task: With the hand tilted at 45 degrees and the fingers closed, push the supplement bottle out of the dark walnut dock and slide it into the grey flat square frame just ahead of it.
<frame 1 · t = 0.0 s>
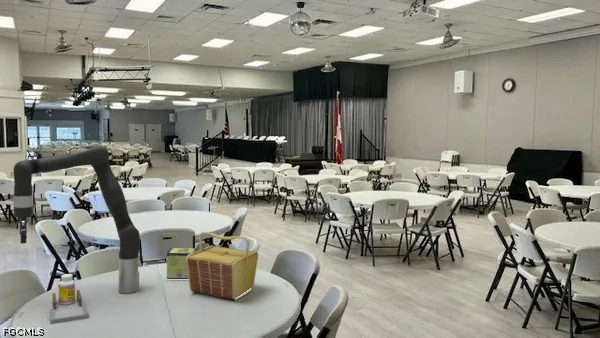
hand: (23, 241, 206), 29 cm above the table, tool pointing down, fingers open, 8 cm apart
protein box: (182, 278, 255), on the table
grey flat square frame: (69, 315, 199), on the table
walnut dock: (66, 303, 212), on the table
supplement bottle: (66, 303, 213), on the table
picnic basket: (222, 292, 234), on the table
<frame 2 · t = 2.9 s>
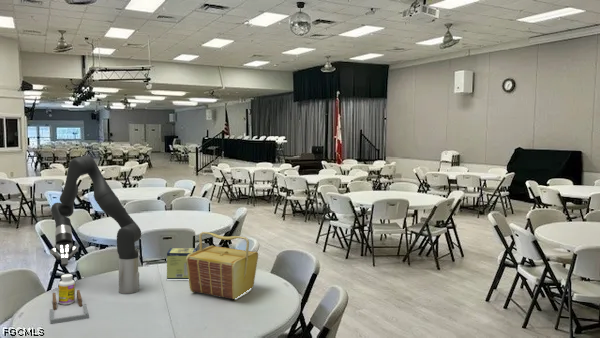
hand: (64, 265, 225), 13 cm above the table, tool tilted 45°, fingers closed
nothing on the table moved.
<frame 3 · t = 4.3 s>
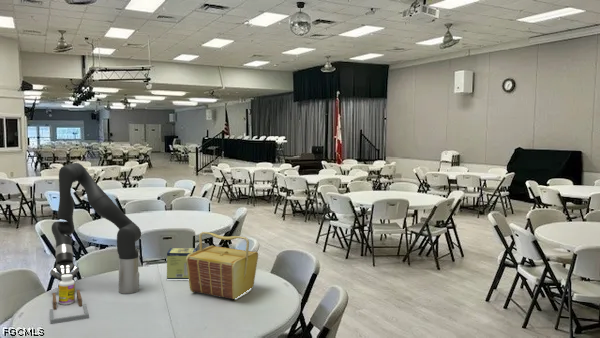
hand: (65, 286, 220), 5 cm above the table, tool tilted 45°, fingers closed
nothing on the table moved.
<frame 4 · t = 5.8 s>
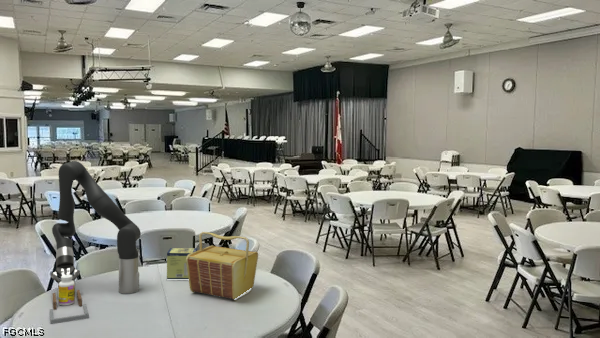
hand: (66, 290, 215), 5 cm above the table, tool tilted 45°, fingers closed
supplement bottle: (66, 303, 212), on the table, touching gripper
everything else where it was.
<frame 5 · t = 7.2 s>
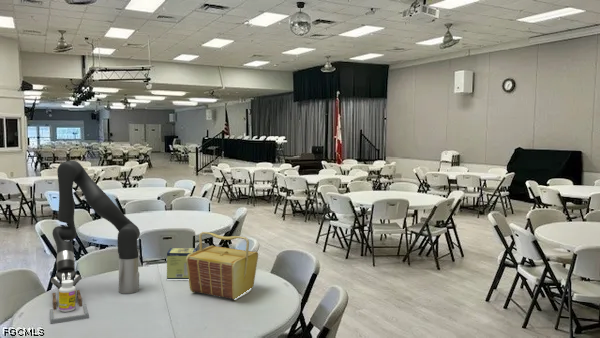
hand: (66, 296, 208), 5 cm above the table, tool tilted 45°, fingers closed
supplement bottle: (67, 309, 205), on the table, touching gripper
everything else where it was.
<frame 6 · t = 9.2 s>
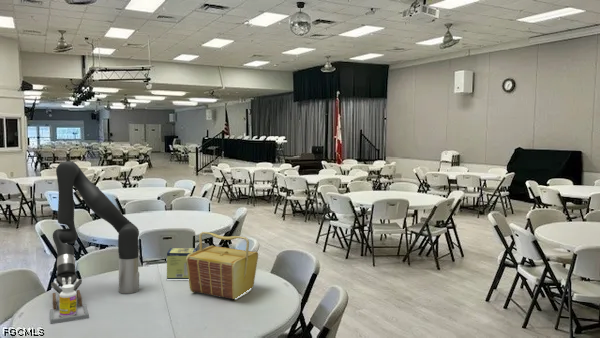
hand: (67, 301, 202), 5 cm above the table, tool tilted 45°, fingers closed
supplement bottle: (68, 315, 199), on the table, touching gripper
everything else where it was.
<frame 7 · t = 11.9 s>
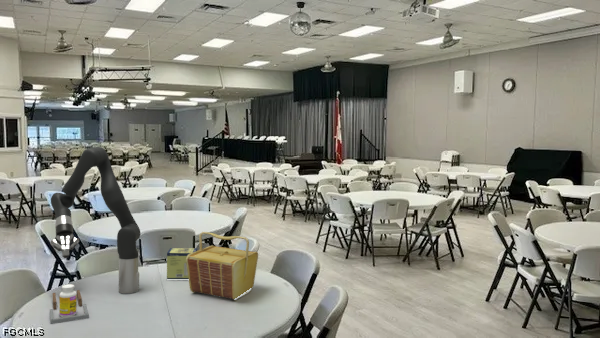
hand: (66, 257, 217), 20 cm above the table, tool tilted 45°, fingers closed
supplement bottle: (68, 315, 199), on the table
everything else where it was.
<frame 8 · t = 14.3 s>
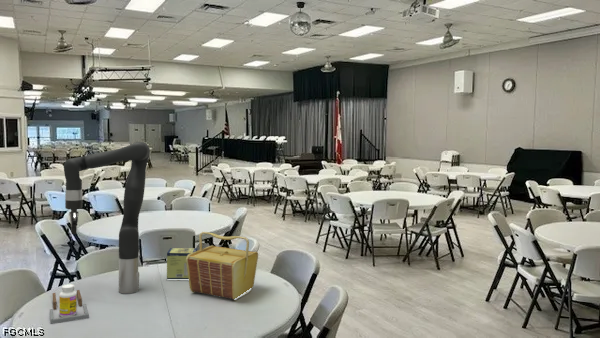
hand: (74, 233, 226), 29 cm above the table, tool pointing down, fingers closed
nothing on the table moved.
at the end: supplement bottle inside the target area (0.5 cm from its centre), on the table; supplement bottle tilted 0°; the gripper is holding nothing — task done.
